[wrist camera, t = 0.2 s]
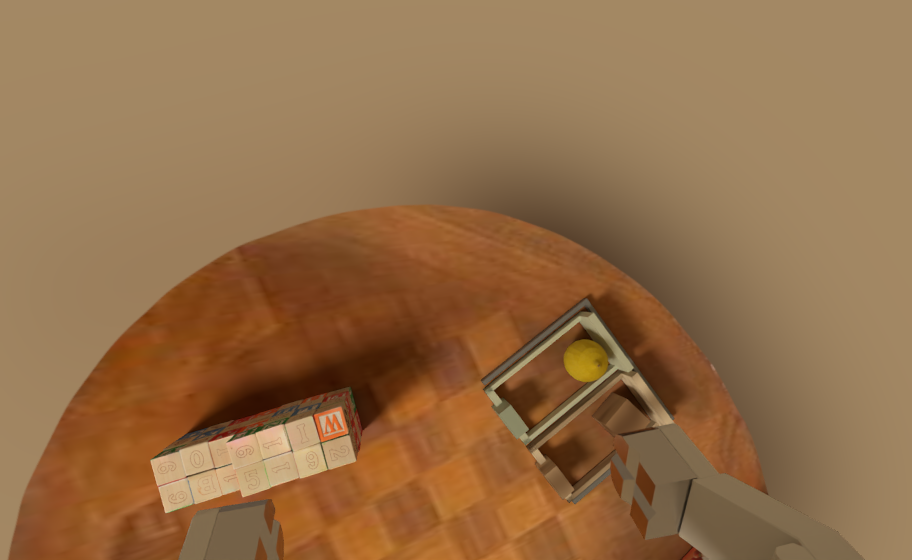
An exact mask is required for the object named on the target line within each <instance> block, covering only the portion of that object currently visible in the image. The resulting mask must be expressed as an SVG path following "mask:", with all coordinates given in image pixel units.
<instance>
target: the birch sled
mask: <svg viewBox="0 0 912 560" xmlns="http://www.w3.org/2000/svg"><path fill="white" fill-rule="evenodd" d="M621 379H622V380H623V382H624V383H625V384H626V386H627V387H628V389H629V390H630V391H631V393H632V394H633V395H634V397H635V398H636V400H637V401H638V402H639V404H640V405H641V406H642V408H643V409H644V410H645V412H646V413H647V415H648V416H649V417H650V419H651V420H650V421H651V422H650V423H649V424H648V425H647V426H646V428H650V427H656V426H662V425H667V424H672V423H674V422H673V421H672V419H671V418H670V416H669V415H668V414H667V412H666V411H665V410H664V408H663V407H662V406H661V404H660V403H659V401H658V400H657V399H656V397H655V396H654V395H653V393H652V392H651V390H650V389H649V388H648V386H647V385H646V384H645V382H644V381H643V379H642V378H641V377H640V375H639V374H638V373H637V372H634V371H630V372H625V371H622V370H618V371H617V372H615V373H614V374H613V375H612V376H611V377H609V378H608V379H607V380H606V381H605V382H603V383H602V384H601V385H600V386H599V387H597V388H596V389H595V390H594V391H593V392H591V393H590V394H589V395H588V396H586V397H585V398H584V399H583V400H582V401H580V402H579V403H578V404H577V405H576V406H574V407H573V408H572V409H571V410H570V411H568V412H567V413H566V414H565V415H564V416H562V417H561V418H560V419H559V420H558V421H556V422H555V423H554V424H553V425H551V426H550V427H549V428H548V429H547V430H545V431H544V432H543V433H542V434H541V435H539V436H538V437H537V438H536V439H535V440H533V441H532V442H531V443H530V444H529V445H527V446H526V447H527V448H528V450H529V451H530V452H531V454H532V455H533V456H534V458H535V459H536V460H537V462H536V463H535V465H536V466H537V468H538V469H539V470H540V472H541V473H542V474H543V476H544V477H545V478H546V480H547V481H548V482H549V483H550V485H551V486H552V487H553V489H554V490H555V491H556V492H557V493H558V495H559V496H560V497H561V498H562V499H566V500H567V501H568V502H569V503H570V502H571V501H572V500H573V499H574V498H576V497H577V496H578V495H579V494H580V493H581V492H583V491H584V490H585V489H586V488H587V487H588V486H589V485H591V484H592V483H593V482H594V481H595V480H596V479H598V478H599V477H600V476H601V475H602V474H603V473H605V472H606V471H607V470H608V469H609V468H610V464H611V458H612V457H613V456H614V455H615V454H616V453H617V452H616V450H615V451H614V452H612V453H611V454H610V455H609V456H608V457H607V458H605V459H604V460H603V461H602V462H601V463H599V464H598V465H597V466H596V467H595V468H594V469H592V470H591V471H590V472H589V473H588V474H587V475H585V476H584V477H583V478H582V479H581V480H580V481H578V482H577V483H576V484H575V485H574V486H573V487H572V486H571V484H570V483H569V482H568V480H567V479H566V478H565V476H564V475H563V474H562V472H561V471H560V470H559V468H558V467H557V466H556V465H555V464H554V463H553V461H552V460H551V459H550V458H549V457H548V456H547V455H546V454H545V455H544V456H543V455H542V454H541V453H540V451H539V450H538V448H539V447H540V446H541V445H543V444H544V443H545V442H546V441H547V440H549V439H550V438H551V437H552V436H553V435H555V434H556V433H557V432H558V431H559V430H561V429H562V428H563V427H564V426H565V425H567V424H568V423H569V422H570V421H571V420H573V419H574V418H575V417H576V416H577V415H579V414H580V413H581V412H582V411H583V410H585V409H586V408H587V407H588V406H589V405H591V404H592V403H593V402H594V401H595V400H597V399H598V398H599V397H600V396H601V395H603V394H604V393H605V392H606V391H607V390H609V389H610V388H611V387H612V386H613V385H615V384H616V383H617V382H618V381H619V380H621Z"/></svg>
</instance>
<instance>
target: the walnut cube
mask: <svg viewBox="0 0 912 560" xmlns="http://www.w3.org/2000/svg"><path fill="white" fill-rule="evenodd" d="M592 417H593V418H594V419H595V420H596V421H597V422H598V423H599V424H600V425H601V426H602V427H604V428H605V429H606V430H607V431H608V432H609V433H610V434H611V435H612V436H613V437H615V436H616V434H620V433H625V432H630V431H635V430H640V429H645V428H646V426H647V425H648V424H649V423H650V422H651V421H650V420H649V419H648V418H647V417H646V416H644V415H643V414H642V413H641V412H640V411H639V410H638V409H637V408H636V407H635V406H634V405H633V404H632V403H631V402H630V401H629V400H628V399H626V398H624V397H622V396H619V395H617V394H615V393H613V392H612V393H611V394H610V395H609V396H608V398H607V399H606V400H605V401H604V402H603V403H602V405H601V406H600V407H599V408H598V409H597V410H596V412H595V413H594V414H593V415H592Z"/></svg>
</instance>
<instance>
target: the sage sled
mask: <svg viewBox="0 0 912 560" xmlns="http://www.w3.org/2000/svg"><path fill="white" fill-rule="evenodd" d="M578 322H580V323H581V324H582V326H583V327H584V329H585V330H586V331H587V333H588V334H589V335H590V337H591V338H592V339H593V341H594V342H596V343H598V344H599V345H600V346H602V348H603V349H604V350H605V352H606V354H607V357H608V361H609V363H610V365H609V366H608V368H607V371H606V372H605V374H604V375H603V376H602V377H601V378H599V379H598V380H595V381H591V382H588V383H587V384H586V385H584V386H583V387H582V388H581V389H580V390H578V391H577V392H576V393H575V394H574V395H572V396H571V397H570V398H569V399H567V400H566V401H565V402H564V403H563V404H561V405H560V406H559V407H558V408H557V409H555V410H554V411H553V412H552V413H551V414H549V415H548V416H547V417H546V418H544V419H543V420H542V421H541V422H540V423H538V424H537V425H536V426H535V427H534V428H532V429H531V430H530V431H529V432H527V431H528V430H529V428H528V427H527V426H526V424H525V423H524V422H523V420H522V419H521V418H520V416H519V415H518V414H517V412H516V411H515V410H514V408H513V407H512V406H511V405H510V404H509V403H508V402H507V401H506V400H505V399H504V398H501V399H500V398H499V397H498V396H497V394H496V393H495V392H494V390H495V389H496V388H497V387H498V386H500V385H501V384H502V383H503V382H505V381H506V380H507V379H508V378H510V377H511V376H512V375H513V374H515V373H516V372H517V371H518V370H520V369H521V368H522V367H523V366H525V365H526V364H527V363H528V362H530V361H531V360H532V359H533V358H534V357H536V356H537V355H538V354H539V353H541V352H542V351H543V350H544V349H546V348H547V347H548V346H549V345H551V344H552V343H553V342H554V341H556V340H557V339H558V338H559V337H561V336H562V335H563V334H564V333H566V332H567V331H568V330H569V329H571V328H572V327H573V326H574V325H576V324H577V323H578ZM633 368H634V367H633V366H632V364H631V363H630V362H629V360H628V359H627V358H626V356H625V355H624V353H623V352H622V351H621V349H620V348H619V347H618V345H617V344H616V343H615V341H614V340H613V338H612V337H611V336H610V334H609V333H608V332H607V330H606V329H605V327H604V326H603V325H602V323H601V322H600V321H599V319H598V318H597V316H596V315H595V314H594V313H592V312H582V311H580V312H579V313H578V314H577V315H575V316H574V317H573V318H572V319H570V320H569V321H568V322H567V323H565V324H564V325H563V326H562V327H560V328H559V329H558V330H557V331H555V332H554V333H553V334H551V335H550V336H549V337H548V338H546V339H545V340H544V341H543V342H541V343H540V344H539V345H538V346H536V347H535V348H534V349H533V350H531V351H530V352H529V353H528V354H526V355H525V356H524V357H523V358H521V359H520V360H519V361H518V362H516V363H515V364H514V365H513V366H511V367H510V368H509V369H508V370H506V371H505V372H504V373H503V374H501V375H500V376H499V377H498V378H496V379H495V380H494V381H493V382H491V383H490V384H489V385H488V386H486V387H485V388H484V389H483V390H484V391H485V393H486V394H487V395H488V397H489V398H490V399H491V401H492V402H493V403H494V405H493V406H491V407H492V408H493V409H494V411H495V412H496V413H497V415H498V416H499V417H500V419H501V420H502V421H503V423H504V424H505V425H506V427H507V428H508V429H509V430H510V432H511V433H512V434H513V435H514V436H515V437H516V439H518V438H520V439H521V440H522V442H523V443H524V444H525V445H527V444H528V443H529V442H530V441H532V440H533V439H534V438H535V437H536V436H538V435H539V434H540V433H541V432H542V431H544V430H545V429H546V428H547V427H548V426H550V425H551V424H552V423H553V422H555V421H556V420H557V419H558V418H559V417H561V416H562V415H563V414H564V413H565V412H567V411H568V410H569V409H570V408H571V407H573V406H574V405H575V404H576V403H577V402H579V401H580V400H581V399H582V398H583V397H585V396H586V395H587V394H588V393H590V392H591V391H592V390H593V389H594V388H596V387H597V386H598V385H599V384H600V383H602V382H603V381H604V380H605V379H606V378H608V377H609V376H610V375H611V374H612V373H614V372H615V371H616V370H617V369H619V370H622V371H625V372H630V371H631V370H632V369H633ZM525 432H527V433H525Z"/></svg>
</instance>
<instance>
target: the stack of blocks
mask: <svg viewBox="0 0 912 560" xmlns="http://www.w3.org/2000/svg"><path fill="white" fill-rule="evenodd" d="M362 431H363V430H362V426H361V423H360V419H359V415H358V412H357V409H356V406H355V402H354V398H353V394H352V390H351V387H347V388H343V389H340V390H336V391H333V392H329V393H323V394H320V395H316V396H313V397H310V398H306V399H302V400H299V401H295V402H292V403H288V404H285V405H282V406H281V407H278V408H274V409H271V410H268V411H264V412H261V413H258V414H256V415H252V416H248V417H245V418H242V419H238V420H235V421H234V420H231V421H228V422H224V423H221V424H218V425H214V426H211V427H209V428H205V429H201V430H198V431H195V432H192V433H188V434H186V435H184V436H182V437H181V438H179V439H178V440H177V441H175V442H173V443H172V444H171V445H169V446H168V447H166V448H165V449H164V450H163V451H162V452H161V453H159V454H158V455H157V456H155V457H154V458H152V459H151V460H150V461H151V464H152V468H153V471H154V475H155V479H156V483H157V486H159V491H160V495H161V499H162V502H163V506H164V509H165V513H169V512H172V511H175V510H178V509H181V508H184V507H187V506H190V505H192V504H198V503H201V502H204V501H207V500H210V499H213V498H216V497H219V496H222V495H226V494H229V493H232V492H235V491H238V490H240V491H241V495H242V497H245V496H248V495H251V494H254V493H257V492H260V491H263V490H266V489H269V488H271V487H273V486H276V485H280V484H283V483H285V482H289V481H292V480H295V479H297V478H304V477H307V476H310V475H313V474H316V473H320V472H323V471H326V470H328V469H334V468H337V467H340V466H343V465H347V464H350V463H353V462H355V461H356V460H357V455H358V452H359V450H360V441H361V436H362Z"/></svg>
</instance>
